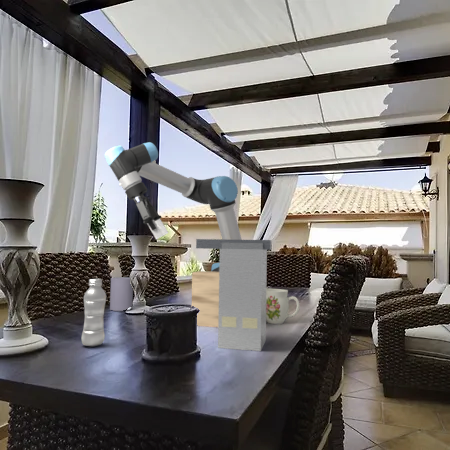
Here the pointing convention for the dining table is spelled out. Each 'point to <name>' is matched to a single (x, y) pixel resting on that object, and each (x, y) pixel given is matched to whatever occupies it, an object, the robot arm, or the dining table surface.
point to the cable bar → (218, 242)
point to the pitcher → (278, 305)
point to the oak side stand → (206, 297)
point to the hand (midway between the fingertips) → (162, 236)
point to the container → (120, 294)
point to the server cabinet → (242, 296)
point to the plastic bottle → (94, 314)
